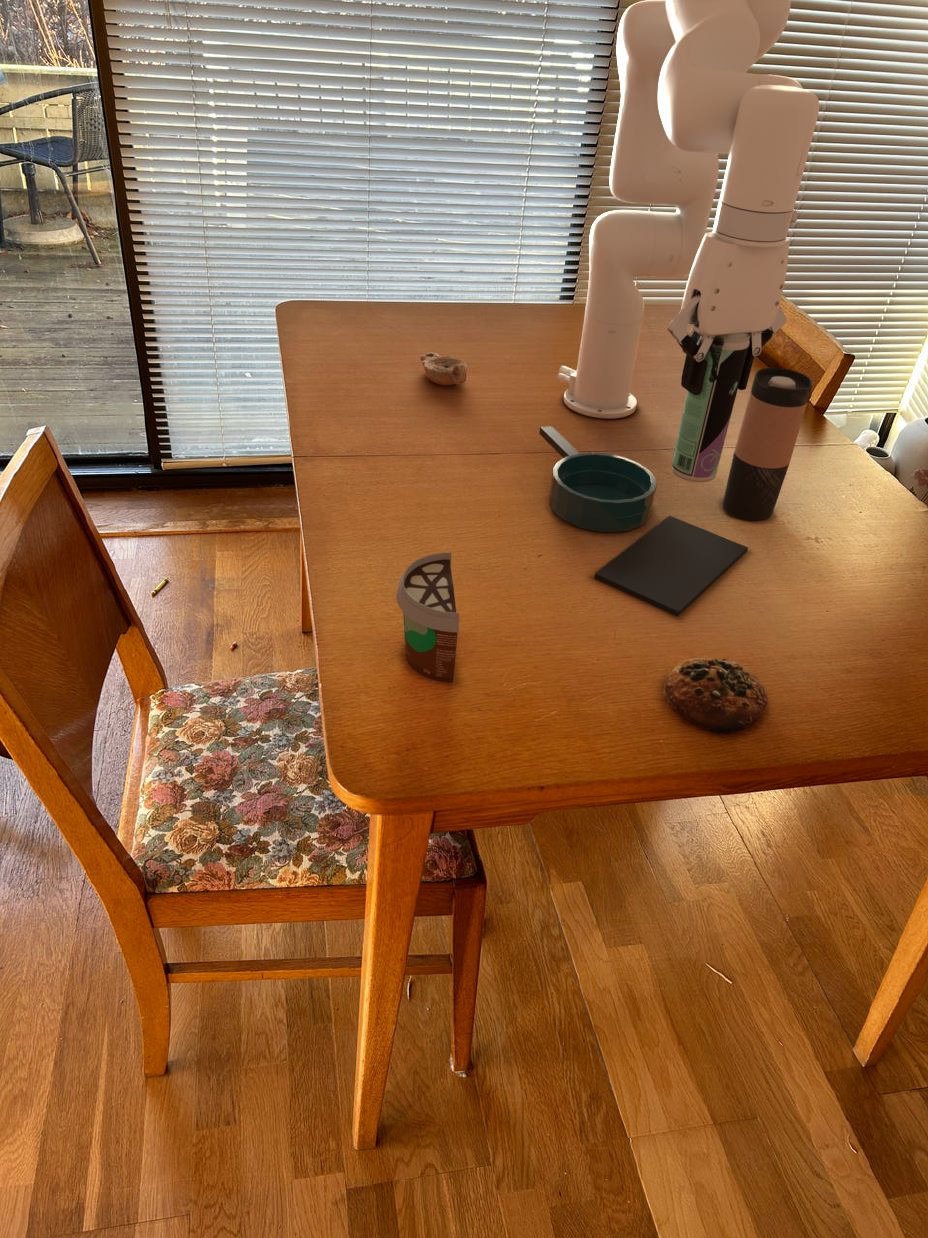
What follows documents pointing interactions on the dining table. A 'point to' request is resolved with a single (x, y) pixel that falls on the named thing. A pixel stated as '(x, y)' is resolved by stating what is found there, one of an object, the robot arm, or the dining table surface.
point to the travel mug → (766, 442)
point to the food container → (430, 616)
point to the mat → (671, 565)
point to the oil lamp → (444, 369)
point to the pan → (602, 492)
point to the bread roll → (715, 694)
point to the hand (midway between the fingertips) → (713, 386)
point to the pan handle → (557, 441)
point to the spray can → (710, 410)
